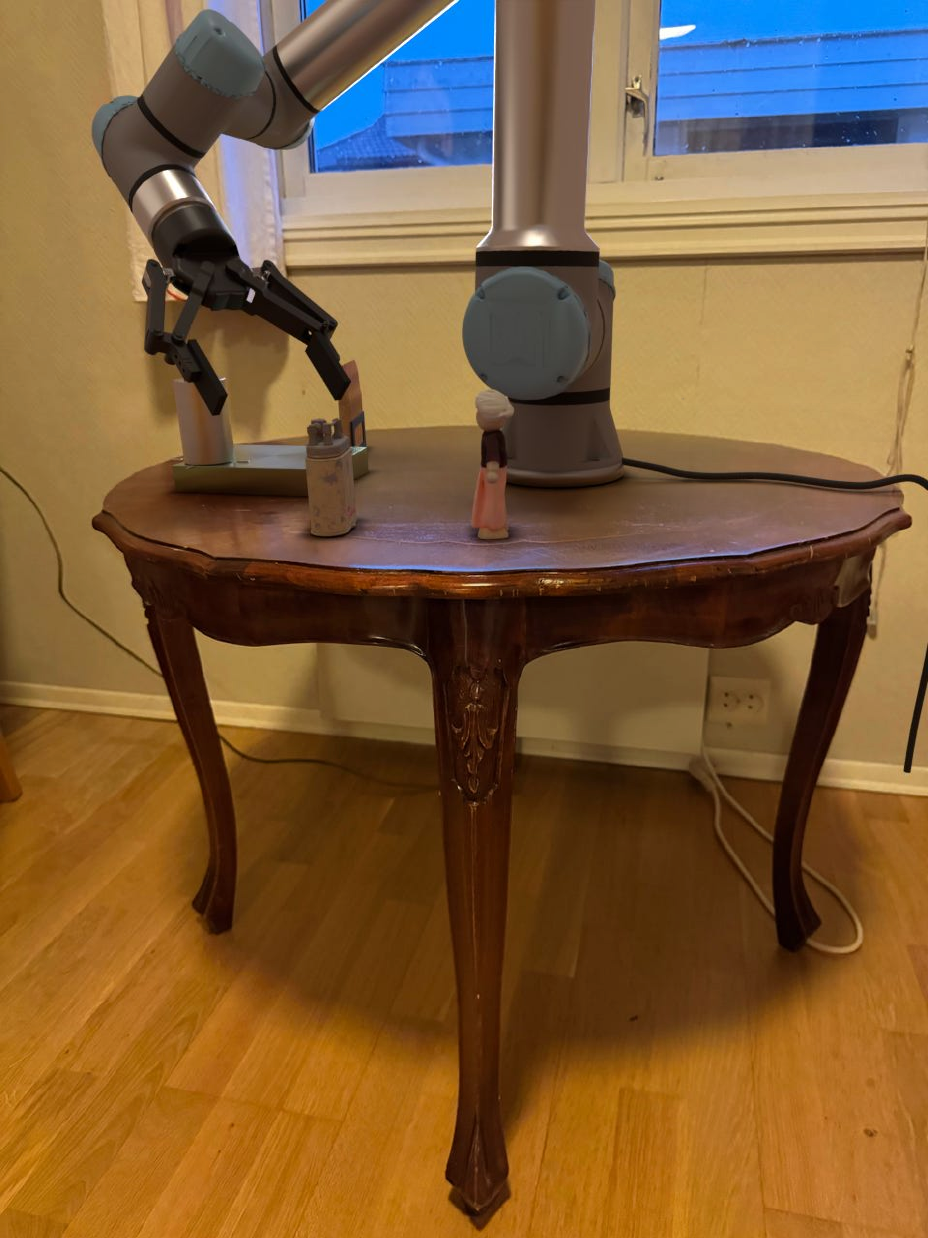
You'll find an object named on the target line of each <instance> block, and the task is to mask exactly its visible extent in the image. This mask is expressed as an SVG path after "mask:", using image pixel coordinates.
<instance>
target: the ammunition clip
mask: <svg viewBox="0 0 928 1238" xmlns="http://www.w3.org/2000/svg"><path fill="white" fill-rule="evenodd" d="M341 366H342V367H343V369H344V371H345V372H346V374H347V375H348V377H349V379H350V380H351V383H350V385H349V387H348V388H347V390H346V392H345V394H344V396H343V397H342V399H341V400H337V401H338V420H339V419H341V423H342V424H341V433H342V434H344V436H347V437H348V438H349V447H367V433H366V419H365V410H363V397H362V395H363V394H362V389H361V382H360V374H359V369H358V365H357V362H356V360H355V359H352V360H350V361H348V362H346V363H344V364H341ZM367 448H368V447H367Z"/></svg>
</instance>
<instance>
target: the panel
mask: <svg viewBox="0 0 928 1238" xmlns="http://www.w3.org/2000/svg"><path fill="white" fill-rule="evenodd" d="M233 446H234V455H235V459H234V460H233V461H231V462H227V463H222V464H214V465H189V464H186V463H184V459H183V458H170V459H169V461H175V462H179V461H180V462H179V463H176V464H173V465H171V468H172V475H173V483H174V489H175V490H174V491H175V493H191V494H192V493H193V494H219V495H220V494H221V495H222V494H223V495H250V496H251V495H252V496H253V495H254V496H279V497H280V496H282V497H308V498H309V496H308V484H307V473H306V461H305V458H306V457H307V452H306V445H288V444H287V445H283V444H281V445H280V444H279V445H278V444H236V443H235V444H234V443H233ZM349 448H350V449H351V451H352V466H353V480H354V481H355V480H357V479H359V478H360V477H362V476H364V475H365V474H367V473H368V472H370V471H369V455H368V447H349Z"/></svg>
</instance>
